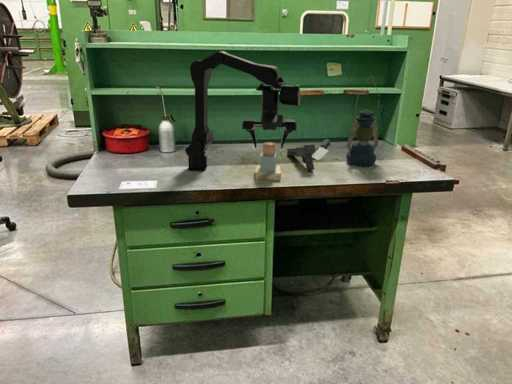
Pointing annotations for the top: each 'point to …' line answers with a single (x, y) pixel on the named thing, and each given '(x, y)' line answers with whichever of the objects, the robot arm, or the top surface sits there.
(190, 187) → the top surface
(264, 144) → the orange-tan rounded lump
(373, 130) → the lantern
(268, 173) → the beech slab
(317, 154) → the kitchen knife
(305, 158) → the handgun
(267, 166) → the blue-grey cube
